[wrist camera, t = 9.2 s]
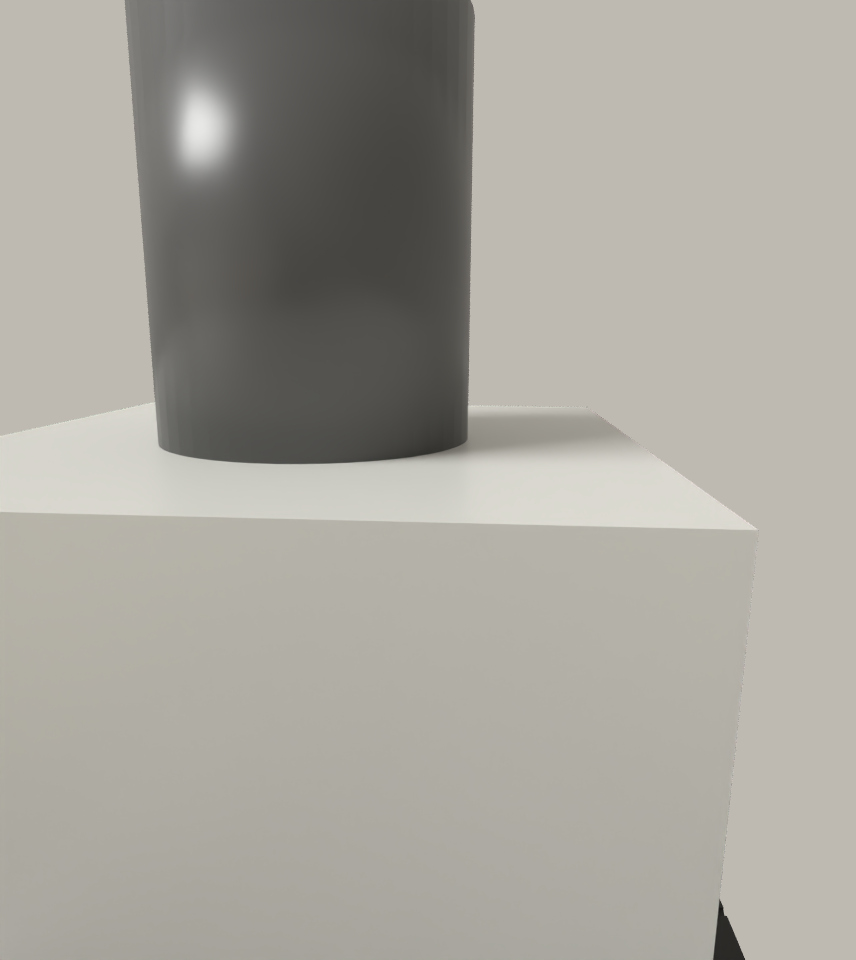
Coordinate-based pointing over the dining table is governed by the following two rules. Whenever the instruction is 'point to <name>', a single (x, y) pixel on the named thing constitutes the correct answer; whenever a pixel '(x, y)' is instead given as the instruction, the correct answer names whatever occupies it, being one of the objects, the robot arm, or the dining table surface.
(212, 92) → the white square bottle
